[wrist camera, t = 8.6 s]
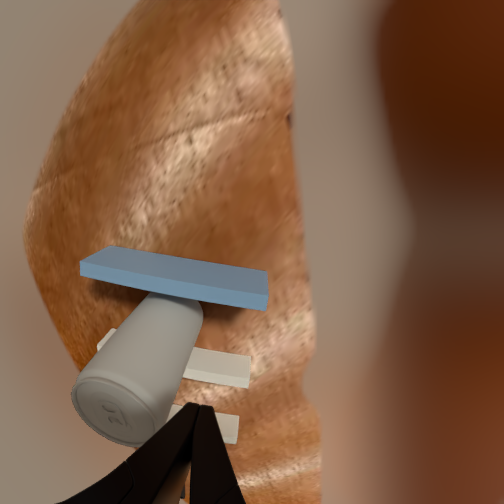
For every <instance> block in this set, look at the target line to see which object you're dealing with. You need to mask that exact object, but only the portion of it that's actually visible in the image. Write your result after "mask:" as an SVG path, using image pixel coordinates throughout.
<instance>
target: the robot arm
mask: <svg viewBox="0 0 504 504" xmlns="http://www.w3.org/2000/svg"><path fill="white" fill-rule="evenodd" d="M190 466H191V474H190V504H246V502H245V500H244V498H243V495H242V493H241V490H240V487H239V485H238V482H237V479H236V477H235V474H234V471H233V468H232V465H231V462H230V459H229V456H228V453H227V450H226V447H225V444H224V441H223V438H222V434H221V431H220V428H219V425H218V421H217V418H216V415H215V411H214V408H213V407H212V406H208V405H201V406H200V405H199V404H197V403H192V402H188V403H186V404H185V405H184V406H183V407H182V408H181V409H180V410H179V411H178V412H177V413H176V414H175V415H174V416H173V417H172V418H171V419H170V420H169V421H168V422H167V423H166V424H164V425H163V426H162V427H161V428H160V429H159V430H158V431H157V432H156V433H155V434H154V435H153V436H152V437H151V438H149V439H148V440H147V441H146V442H145V443H144V444H143V445H142V446H141V447H140V448H138V449H137V450H136V451H135V452H134V453H133V454H132V455H131V456H130V457H128V458H127V459H126V461H124V462H123V463H122V464H120V465H119V466H118V467H117V468H116V469H114V470H113V471H112V472H111V473H109V474H108V475H107V476H105V477H104V478H102V479H101V480H99V481H98V482H96V483H95V484H93V485H91V486H90V487H88V488H86V489H85V490H83V491H81V492H79V493H78V494H76V495H74V496H72V497H71V498H69V499H67V500H65V501H62V502H60V503H56V504H179V501H180V498H181V499H185V481H186V478H187V475H188V472H189V469H190Z"/></svg>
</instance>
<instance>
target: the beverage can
mask: <svg viewBox="0 0 504 504" xmlns="http://www.w3.org/2000/svg"><path fill="white" fill-rule="evenodd" d="M202 322H203V311H202V308H201V306H200V304H199V302H198V301H197V300H194V299H189V298H183V297H178V296H173V295H167V294H162V293H157V292H152V291H151V292H150V293H149V294H148V295H147V296H146V298H145V299H144V300H143V301H142V302H141V303H140V304H139V305H138V306H137V307H136V309H135V310H134V311H133V312H132V313H131V314H130V315H129V316H128V317H127V318H126V320H125V321H124V322H123V323H122V324H121V325H120V326H119V327H118V329H117V330H116V331H115V332H114V333H113V334H112V335H111V337H110V338H109V339H108V340H107V341H106V343H105V344H104V345H103V346H102V347H101V348H100V350H99V351H98V352H97V353H96V354H95V356H94V357H93V358H92V359H91V360H90V362H89V363H88V364H87V365H86V367H85V368H84V369H83V370H82V371H81V373H80V374H79V375H78V377H77V380H76V384H75V385H74V386H73V389H72V392H71V396H72V402H73V404H74V407H75V409H76V411H77V412H78V414H79V415H80V417H81V418H82V419H83V420H84V421H85V423H86V424H87V425H88V426H89V427H91V428H92V429H93V430H94V431H96V432H97V433H98V434H100V435H102V436H103V437H105V438H107V439H108V440H111V441H113V442H115V443H118V444H121V445H125V446H129V447H141V446H142V445H143V444H144V443H145V442H146V441H147V440H148V439H149V438H151V437H152V436H153V435H154V434H155V433H156V432H157V431H158V430H159V429H160V428H161V427H162V426H163V425H164V424H166V421H167V418H168V416H169V413H170V410H171V407H172V405H173V402H174V399H175V396H176V393H177V391H178V388H179V385H180V382H181V380H182V377H183V374H184V372H185V369H186V366H187V363H188V361H189V358H190V355H191V353H192V350H193V347H194V345H195V342H196V339H197V337H198V334H199V331H200V329H201V326H202Z"/></svg>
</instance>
